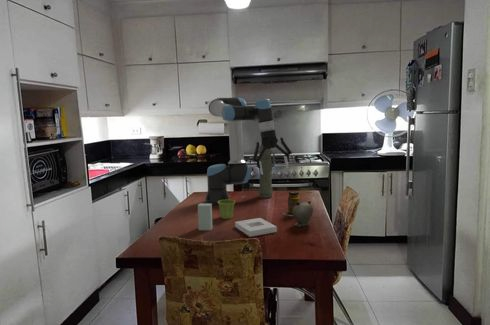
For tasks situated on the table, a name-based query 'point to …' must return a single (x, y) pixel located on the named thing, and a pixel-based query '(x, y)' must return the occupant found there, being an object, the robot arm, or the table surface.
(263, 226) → the socket plate
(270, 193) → the thermos
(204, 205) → the key block
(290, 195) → the condiment
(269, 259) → the table surface
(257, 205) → the table surface
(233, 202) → the plant pot
